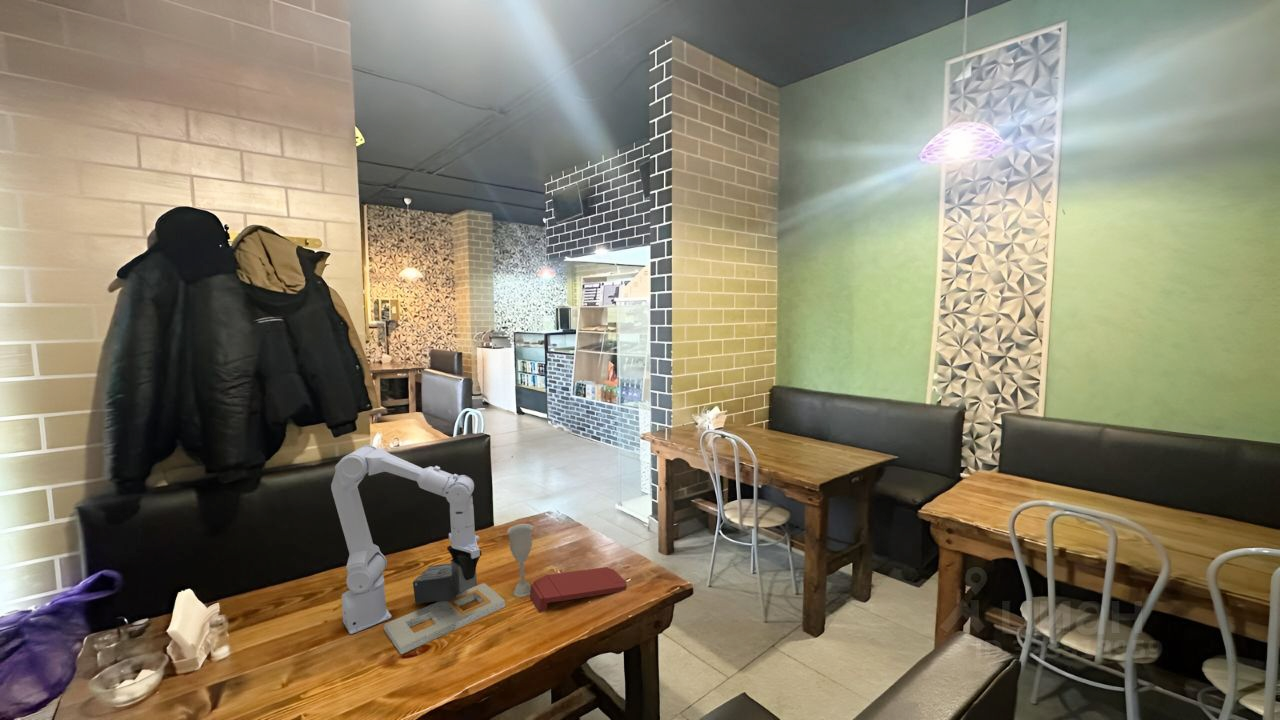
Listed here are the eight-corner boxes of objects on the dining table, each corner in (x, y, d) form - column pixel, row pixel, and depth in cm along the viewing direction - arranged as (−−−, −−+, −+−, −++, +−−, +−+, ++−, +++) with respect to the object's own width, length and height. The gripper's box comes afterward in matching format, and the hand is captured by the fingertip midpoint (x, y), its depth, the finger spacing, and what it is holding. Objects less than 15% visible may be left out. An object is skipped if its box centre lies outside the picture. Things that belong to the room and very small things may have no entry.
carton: (608, 582, 147) (527, 594, 135) (610, 566, 147) (529, 576, 135) (627, 602, 137) (541, 617, 125) (629, 585, 137) (543, 598, 124)
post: (459, 592, 124) (458, 565, 124) (452, 585, 127) (451, 559, 127) (476, 585, 127) (475, 559, 127) (469, 578, 131) (467, 553, 130)
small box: (431, 588, 139) (414, 605, 129) (429, 565, 140) (411, 580, 129) (468, 583, 139) (453, 600, 129) (465, 560, 140) (450, 575, 129)
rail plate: (400, 654, 111) (400, 646, 111) (384, 630, 120) (384, 623, 120) (505, 606, 129) (504, 599, 129) (484, 589, 138) (484, 582, 138)
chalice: (528, 600, 132) (526, 535, 130) (505, 597, 133) (502, 534, 132) (539, 585, 139) (537, 524, 137) (517, 583, 140) (514, 522, 139)
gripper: (490, 528, 124) (492, 579, 125) (465, 512, 134) (468, 559, 135) (462, 537, 119) (466, 590, 120) (439, 520, 129) (442, 569, 131)
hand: (465, 575), depth 127 cm, fingers closed on post, 4 cm apart
